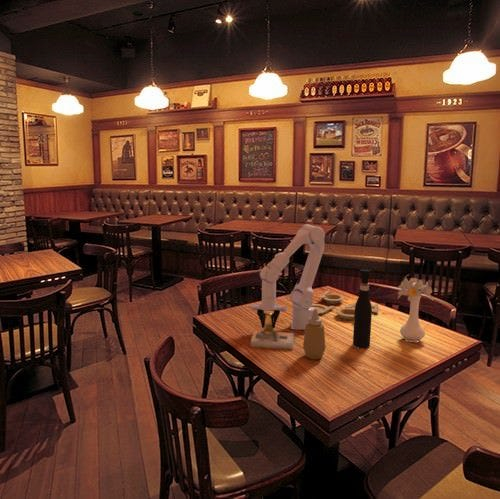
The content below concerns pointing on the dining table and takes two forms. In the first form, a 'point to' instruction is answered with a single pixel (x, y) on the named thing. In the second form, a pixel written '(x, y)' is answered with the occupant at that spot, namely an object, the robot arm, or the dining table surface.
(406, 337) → the flower vase
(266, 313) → the brass fitting
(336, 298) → the tableware set
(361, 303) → the wine bottle
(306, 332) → the squeeze bottle
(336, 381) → the dining table surface
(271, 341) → the plate
